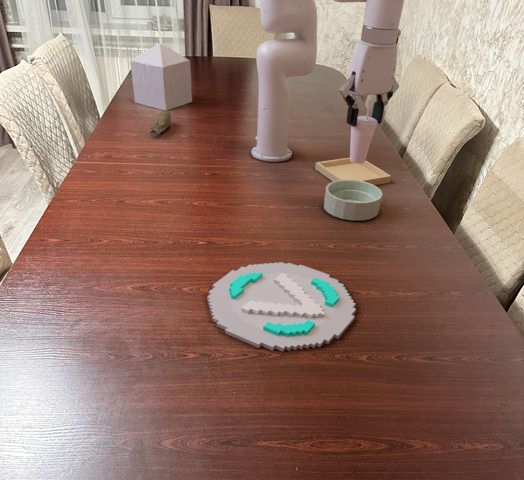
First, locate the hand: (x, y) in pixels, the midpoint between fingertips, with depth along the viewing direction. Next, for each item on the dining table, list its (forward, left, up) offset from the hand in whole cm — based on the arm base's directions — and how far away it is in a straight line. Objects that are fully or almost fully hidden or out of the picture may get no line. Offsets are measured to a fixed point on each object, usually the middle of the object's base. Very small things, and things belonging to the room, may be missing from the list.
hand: (363, 122), depth 123 cm
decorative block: (-106, -16, -22) cm, 110 cm away
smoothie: (0, 0, -9) cm, 9 cm away
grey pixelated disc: (+32, -37, -22) cm, 53 cm away
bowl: (+1, 0, -22) cm, 22 cm away
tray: (-18, +13, -22) cm, 31 cm away
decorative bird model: (-74, -27, -22) cm, 82 cm away
